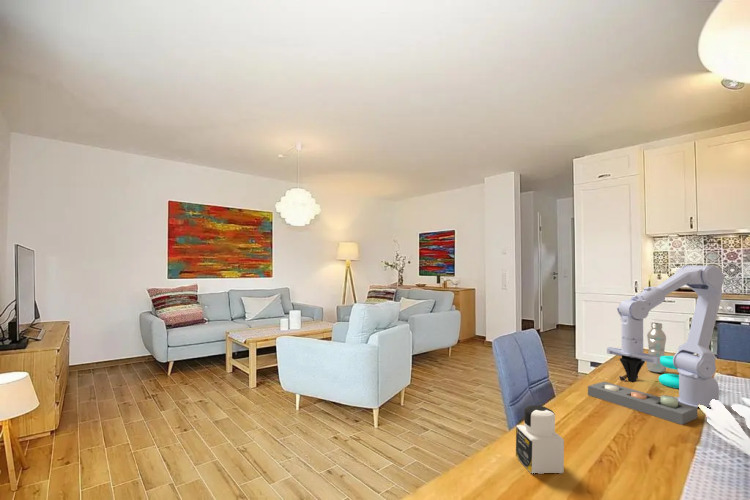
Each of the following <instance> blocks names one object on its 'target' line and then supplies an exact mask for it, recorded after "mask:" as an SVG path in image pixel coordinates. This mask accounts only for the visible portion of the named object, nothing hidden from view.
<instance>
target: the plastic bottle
mask: <svg viewBox="0 0 750 500" xmlns="http://www.w3.org/2000/svg"><path fill="white" fill-rule="evenodd" d="M650 325H651V326H650V327H651V329H650V330H649V331H647V334H646V338H647V344H648V345H647V346H648V354H649V355H653V356H657V357H661V356H666V354H665V349H666V343H667V342H666V341H667V336H666V334H665V332H664V331H663V330H662V329H663V324H662V323H661V322H650ZM646 369H647V370H648V371H650V372H653V373H658V374H660V373H661V374H662V373H663V374H665V373H666V370H667V367H665V366H663V365H661V364H654V363H651V362H646Z"/></svg>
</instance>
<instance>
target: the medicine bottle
mask: <svg viewBox="0 0 750 500" xmlns="http://www.w3.org/2000/svg"><path fill="white" fill-rule="evenodd" d="M523 413H524V414H523V415H524V419H523V420H524V421H523V423H524V424H517V425H516V427H515V428H516V430H515V431H516V432H515V457H516V458H517V459H518V461H519V462H520V463H521V464H522V465H523V467H525V469H526V470H527V471H528V473H529V474H531V473H532V474H531V475H536V474H535V473H538V474H537V475H543V474H544V473H559V474H564V469H565V467H564V464H565V463H564V462H565V461H564V459H565V456H564V455H565V453H564V452H565V440H564V438H563V437H562V436H560V434H558V433H557V432H555V431H556V430H555V429H556V414H555V412H554V411H553V410H552V409H550V408H548V407H546V406H542V405H528V406H526V407H525V408H524V411H523ZM533 473H534V474H533Z"/></svg>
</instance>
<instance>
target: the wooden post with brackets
mask: <svg viewBox="0 0 750 500" xmlns="http://www.w3.org/2000/svg"><path fill="white" fill-rule="evenodd" d="M627 379H628V378H627V374H626V373H625V374H624V375H620V376H619V380H620V381H622V380H623V382H626V380H627ZM637 379H639V376H637Z"/></svg>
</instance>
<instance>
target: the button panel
mask: <svg viewBox="0 0 750 500" xmlns="http://www.w3.org/2000/svg"><path fill="white" fill-rule="evenodd" d="M605 385H614V386H617V387H619V391H616V392H615V391H612V390H608V389H605ZM631 392H638V393H643V394H645V395H647V399H645V400H643V399H639V398H636V397H632V396H631ZM587 395H588V396H590V397H593V398H597V399H599V400H602V401H604V402H609V403H612V404H615V405H619V406H622V407H623V408H624V407H625V408H628V409H631V410H634V411H637V412H640V413H643V414H646V415H649V416H653V417H656V418H658V419H663V420H666V421H669V422H671V423H675V424H679V425H681V426H682V425H685V424H687V423H690V422H691V421H692V422H693V421H694V420H697V419H698V409H699V408H698V407H694V406H691V405H687V404H683V403H681V402H678V408H677V409H674V408H670V407H667V406H663V405H661V396H658V395H654V394H650V393H646V392H643V391H640V390H636V389H633V388H629V387H625V386H622V385H619V384H614V383H611V382H606V381H601V382H598V383H594V384H590V385H588V386H587Z"/></svg>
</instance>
